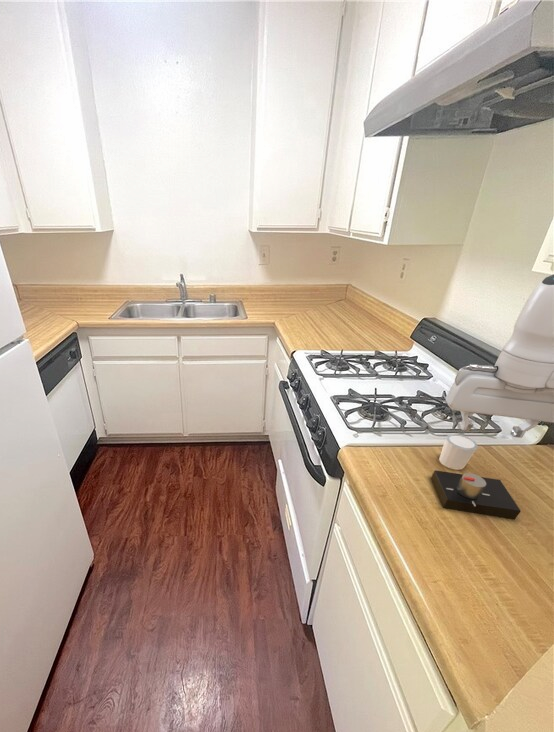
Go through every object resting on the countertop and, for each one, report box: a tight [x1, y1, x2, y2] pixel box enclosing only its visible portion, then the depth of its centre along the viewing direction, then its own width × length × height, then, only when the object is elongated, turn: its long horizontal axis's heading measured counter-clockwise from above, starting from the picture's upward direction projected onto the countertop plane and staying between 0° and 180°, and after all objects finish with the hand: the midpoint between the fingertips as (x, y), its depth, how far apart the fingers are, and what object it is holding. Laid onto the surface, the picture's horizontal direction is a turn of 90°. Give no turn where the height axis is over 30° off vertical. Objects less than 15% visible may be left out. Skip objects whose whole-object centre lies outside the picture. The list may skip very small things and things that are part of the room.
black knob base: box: [430, 469, 522, 521], centre depth 76 cm, size 14×11×3 cm
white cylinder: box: [438, 433, 479, 471], centre depth 86 cm, size 7×7×7 cm
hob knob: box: [456, 472, 486, 499], centre depth 74 cm, size 4×4×4 cm
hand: (489, 432), depth 71 cm, fingers open, 8 cm apart
